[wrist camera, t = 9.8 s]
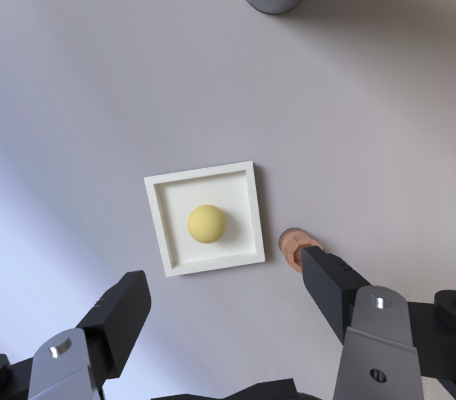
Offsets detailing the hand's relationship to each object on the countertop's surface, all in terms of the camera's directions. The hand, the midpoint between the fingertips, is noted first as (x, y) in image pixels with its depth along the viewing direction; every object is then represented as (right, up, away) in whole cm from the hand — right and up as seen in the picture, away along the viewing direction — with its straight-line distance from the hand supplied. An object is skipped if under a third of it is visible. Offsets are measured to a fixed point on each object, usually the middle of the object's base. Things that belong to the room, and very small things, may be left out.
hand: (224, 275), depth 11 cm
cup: (+10, -3, +21) cm, 24 cm away
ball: (-3, +1, +17) cm, 17 cm away
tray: (-3, +1, +20) cm, 20 cm away
